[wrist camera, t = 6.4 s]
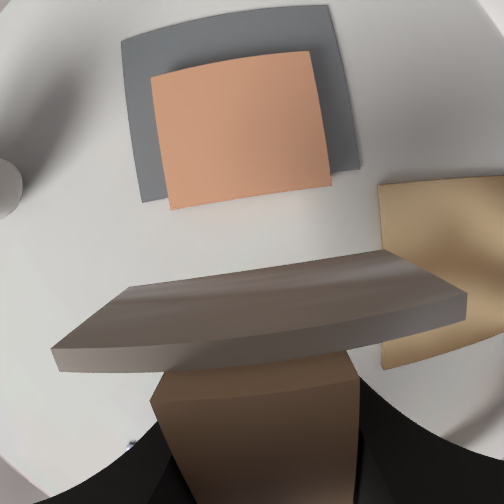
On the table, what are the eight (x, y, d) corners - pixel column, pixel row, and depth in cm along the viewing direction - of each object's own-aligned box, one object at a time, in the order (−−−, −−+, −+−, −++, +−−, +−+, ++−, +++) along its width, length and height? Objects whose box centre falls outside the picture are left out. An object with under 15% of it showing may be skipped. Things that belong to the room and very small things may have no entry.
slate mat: (358, 168, 16) (359, 168, 16) (143, 202, 17) (142, 203, 17) (326, 6, 14) (326, 5, 13) (122, 42, 14) (120, 41, 14)
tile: (331, 185, 15) (308, 50, 13) (170, 210, 15) (150, 77, 14) (326, 183, 16) (305, 59, 14) (177, 206, 17) (158, 83, 15)
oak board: (506, 325, 19) (510, 328, 18) (381, 365, 19) (383, 370, 19) (518, 174, 16) (523, 175, 15) (377, 185, 16) (381, 185, 16)
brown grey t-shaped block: (385, 384, 11) (445, 491, 5) (168, 412, 12) (123, 523, 6) (384, 249, 10) (495, 309, 4) (129, 286, 11) (26, 368, 5)
